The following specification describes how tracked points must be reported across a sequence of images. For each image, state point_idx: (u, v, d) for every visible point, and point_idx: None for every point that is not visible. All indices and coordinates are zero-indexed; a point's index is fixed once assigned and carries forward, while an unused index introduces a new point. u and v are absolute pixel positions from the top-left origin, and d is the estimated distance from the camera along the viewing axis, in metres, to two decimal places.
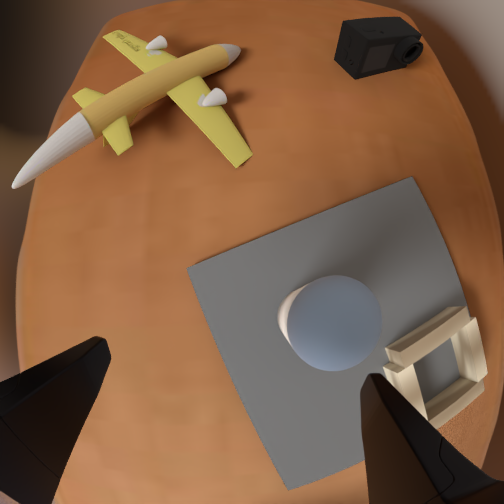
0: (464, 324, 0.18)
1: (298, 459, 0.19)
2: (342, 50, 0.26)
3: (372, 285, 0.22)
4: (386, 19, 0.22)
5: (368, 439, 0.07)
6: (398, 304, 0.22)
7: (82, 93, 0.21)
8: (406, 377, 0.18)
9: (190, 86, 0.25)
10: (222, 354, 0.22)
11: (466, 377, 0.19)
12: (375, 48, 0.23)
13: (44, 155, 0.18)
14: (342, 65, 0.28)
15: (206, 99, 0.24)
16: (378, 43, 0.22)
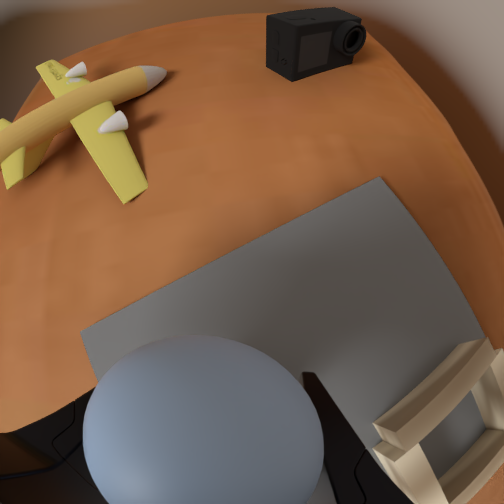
0: (488, 363, 0.10)
1: None
2: (272, 51, 0.23)
3: (341, 337, 0.14)
4: (318, 9, 0.21)
5: None
6: (386, 357, 0.14)
7: None
8: (410, 463, 0.09)
9: (95, 112, 0.20)
10: None
11: (495, 427, 0.10)
12: (308, 37, 0.20)
13: None
14: (275, 69, 0.25)
15: (104, 124, 0.19)
16: (310, 31, 0.20)
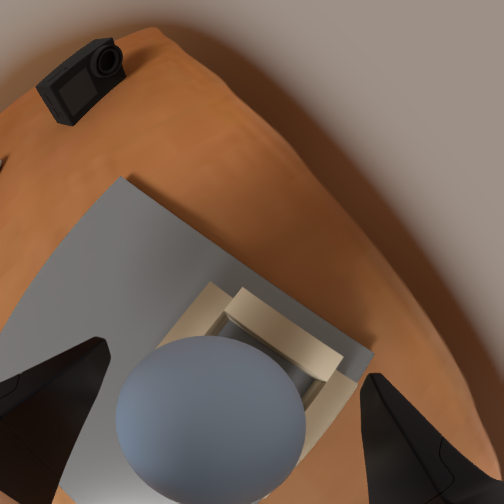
0: (220, 309, 0.14)
1: None
2: (51, 110, 0.24)
3: (96, 321, 0.16)
4: (77, 52, 0.23)
5: (368, 439, 0.07)
6: (134, 328, 0.16)
7: None
8: None
9: None
10: None
11: (314, 377, 0.14)
12: (65, 86, 0.22)
13: None
14: (61, 122, 0.26)
15: None
16: (65, 80, 0.21)
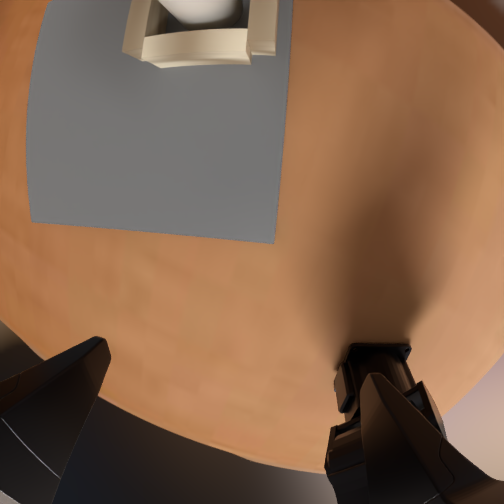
0: None
1: (226, 208, 0.19)
2: None
3: (86, 62, 0.15)
4: None
5: (368, 439, 0.07)
6: (114, 37, 0.14)
7: None
8: (154, 47, 0.12)
9: None
10: (86, 224, 0.20)
11: None
12: None
13: None
14: None
15: None
16: None
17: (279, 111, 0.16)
